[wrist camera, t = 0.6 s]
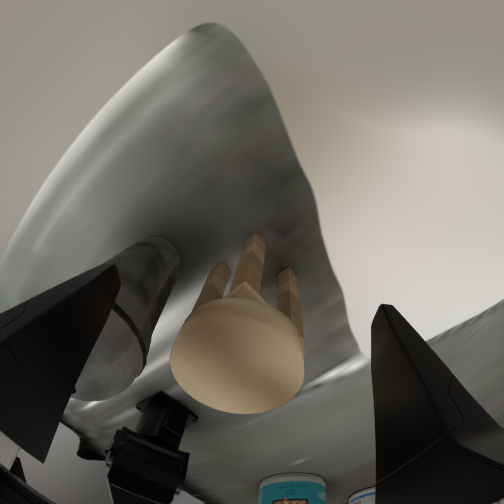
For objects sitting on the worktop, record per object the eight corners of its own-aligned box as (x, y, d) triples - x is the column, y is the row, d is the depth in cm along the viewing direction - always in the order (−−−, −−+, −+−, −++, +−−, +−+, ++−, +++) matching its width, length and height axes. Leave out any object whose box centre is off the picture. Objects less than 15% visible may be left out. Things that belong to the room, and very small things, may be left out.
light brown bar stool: (251, 320, 27) (234, 426, 16) (197, 268, 26) (145, 360, 15) (312, 277, 25) (330, 380, 14) (257, 216, 24) (237, 292, 13)
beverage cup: (132, 208, 24) (-59, 348, 6) (207, 241, 25) (80, 461, 6) (116, 276, 27) (-17, 429, 9) (183, 307, 28) (90, 501, 9)
